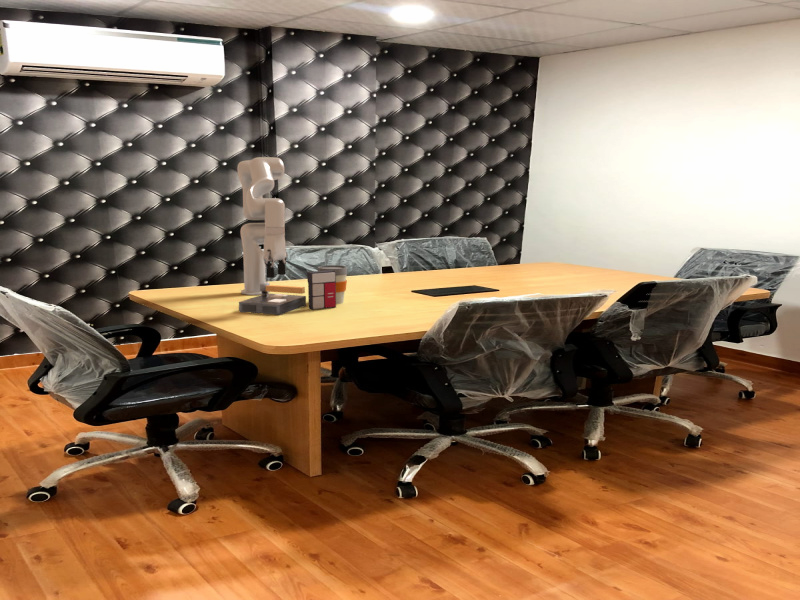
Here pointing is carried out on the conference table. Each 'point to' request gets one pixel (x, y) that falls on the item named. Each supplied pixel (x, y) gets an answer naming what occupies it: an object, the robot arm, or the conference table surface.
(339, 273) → the reusable coffee cup
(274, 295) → the label
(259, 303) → the server box
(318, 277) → the grey and red box
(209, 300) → the conference table surface
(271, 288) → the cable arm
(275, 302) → the label
